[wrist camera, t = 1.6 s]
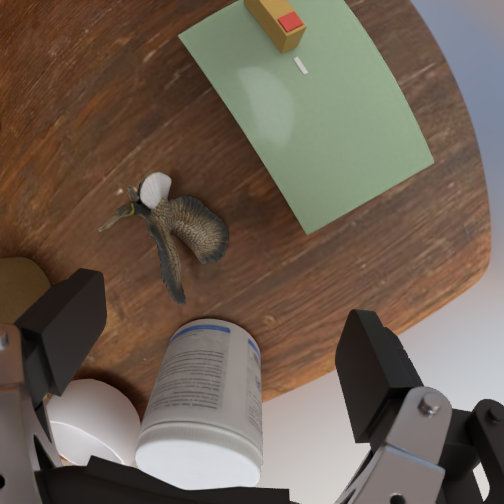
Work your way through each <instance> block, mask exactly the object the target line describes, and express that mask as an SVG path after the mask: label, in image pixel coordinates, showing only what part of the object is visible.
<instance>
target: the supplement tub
mask: <svg viewBox="0 0 504 504" xmlns="http://www.w3.org/2000/svg"><path fill="white" fill-rule="evenodd" d="M262 442H263V440H262V395H261V355H260V350H259V348H258V345H257V343H256V342H255V340H254V339H253V338H252V336H251V335H250V334H249V333H248V332H246V331H245V330H244V329H242V328H241V327H239V326H237V325H235V324H233V323H230V322H227V321H223V320H217V319H200V320H196V321H192V322H190V323H187V324H185V325H184V326H182V327H181V328H179V329H178V330H177V331H176V332H175V333H174V335H173V336H172V338H171V339H170V342H169V344H168V347H167V350H166V352H165V355H164V358H163V361H162V364H161V367H160V370H159V373H158V375H157V378H156V381H155V384H154V387H153V390H152V393H151V396H150V399H149V402H148V405H147V408H146V411H145V414H144V417H143V420H142V424H141V427H140V430H139V434H138V439H137V447H136V451H135V462H136V464H137V466H138V468H139V469H140V470H141V471H143V472H145V473H147V474H149V475H151V476H153V477H155V478H158V479H160V480H162V481H164V482H167V483H169V484H171V485H173V486H176V487H178V488H181V489H185V490H201V489H215V488H227V487H236V486H243V487H254V486H255V485H256V484H257V483H258V482H259V480H260V477H261V466H262V462H263V460H262V456H263V451H262V446H263V443H262Z"/></svg>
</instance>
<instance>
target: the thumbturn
mask: <svg viewBox="0 0 504 504" xmlns="http://www.w3.org/2000/svg"><path fill="white" fill-rule="evenodd" d="M244 4H245V6H246V7H247V8H248V9H249V11H250V12H251V13H252V15H253V16H254V17H255V18H256V20H257V21H258V22H259V24H260V25H261V26H262V28H263V29H264V30H265V32H266V33H267V34H268V36H269V37H270V39H271V40H272V41H273V43H274V44H275V46H276V47H277V48H278V50H279V51H280V53H281V54H283V53H285V52H287V51H289V50H291V49H293V48H295V47H297V46H298V45H299V43H300V40H301V38H302V36H303V34H304V32H305V30H306V27H307V26H306V25H305V24H304V22H303V21H302V19H301V18H300V17H299V15H298V14H297V13H296V12H295V10H294V9H293V8H292V6H291V5H290V4H289V3H288V1H287V0H244Z"/></svg>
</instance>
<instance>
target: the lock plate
mask: <svg viewBox="0 0 504 504" xmlns="http://www.w3.org/2000/svg"><path fill="white" fill-rule="evenodd" d="M287 1H288V3H289V4H290V5H291V6H292V8H293V9H294V10H295V12H296V13H297V14H298V15H299V17H300V18H301V19H302V21H303V22H304V24H305V25H306V26H307V27H306V30H305V32H304V34H303V36H302V38H301V40H300V43H299V45H298V46H297V47H295V48H293V49H291V50H289V51H287V52H285V53H283V54H281V53H280V51H279V50H278V48H277V47H276V46H275V44H274V43H273V41H272V40H271V39H270V37H269V36H268V34H267V33H266V32H265V30H264V29H263V28H262V26H261V25H260V24H259V22H258V21H257V20H256V18H255V17H254V16H253V15H252V13H251V12H250V11H249V9H248V8H247V7H246V6H245V4H244V0H238V1H236V2H235V3H233V4H231V5H229V6H227V7H225V8H223V9H221V10H220V11H218V12H216V13H214V14H212V15H211V16H209V17H207V18H206V19H204V20H202V21H200V22H199V23H197V24H195V25H194V26H192V27H191V28H189V29H187V30H186V31H184V32H183V33H181V34H180V35H178V37H179V38H180V40H181V41H182V43H183V44H184V45H185V47H186V48H187V49H188V51H189V52H190V54H191V55H192V57H193V58H194V59H195V61H196V62H197V64H198V65H199V66H200V68H201V69H202V71H203V72H204V74H205V75H206V77H207V78H208V79H209V81H210V82H211V84H212V85H213V87H214V88H215V90H216V91H217V93H218V94H219V96H220V97H221V99H222V100H223V102H224V103H225V105H226V106H227V108H228V109H229V111H230V112H231V114H232V115H233V117H234V118H235V120H236V121H237V123H238V124H239V126H240V127H241V129H242V130H243V132H244V134H245V135H246V137H247V138H248V140H249V141H250V143H251V144H252V146H253V148H254V149H255V151H256V152H257V154H258V155H259V157H260V159H261V160H262V162H263V163H264V165H265V167H266V168H267V170H268V171H269V173H270V175H271V176H272V178H273V180H274V181H275V183H276V184H277V186H278V188H279V189H280V191H281V193H282V194H283V196H284V198H285V199H286V201H287V203H288V204H289V206H290V208H291V209H292V211H293V213H294V214H295V216H296V218H297V220H298V221H299V223H300V225H301V226H302V228H303V230H304V231H305V233H306V235H309V234H311V233H312V232H314V231H316V230H318V229H319V228H321V227H323V226H325V225H326V224H328V223H330V222H332V221H334V220H335V219H337V218H339V217H341V216H342V215H344V214H346V213H348V212H349V211H351V210H353V209H355V208H356V207H358V206H360V205H362V204H363V203H365V202H367V201H369V200H370V199H372V198H374V197H376V196H377V195H379V194H381V193H383V192H384V191H386V190H388V189H390V188H391V187H393V186H395V185H397V184H398V183H400V182H402V181H404V180H405V179H407V178H409V177H410V176H412V175H414V174H416V173H417V172H419V171H421V170H423V169H424V168H426V167H428V166H429V165H431V164H433V163H434V160H433V158H432V155H431V153H430V151H429V148H428V146H427V143H426V141H425V139H424V137H423V134H422V132H421V130H420V128H419V126H418V123H417V121H416V119H415V117H414V115H413V113H412V111H411V109H410V107H409V105H408V103H407V101H406V99H405V97H404V95H403V93H402V91H401V90H400V88H399V86H398V84H397V82H396V80H395V79H394V77H393V75H392V73H391V71H390V70H389V68H388V66H387V65H386V63H385V61H384V59H383V58H382V56H381V55H380V53H379V51H378V50H377V48H376V46H375V45H374V43H373V42H372V40H371V39H370V37H369V36H368V34H367V33H366V31H365V30H364V28H363V27H362V25H361V24H360V22H359V21H358V19H357V18H356V17H355V15H354V14H353V12H352V11H351V10H350V8H349V7H348V5H347V4H346V3H345V1H344V0H287Z"/></svg>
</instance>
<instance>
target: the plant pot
mask: <svg viewBox="0 0 504 504" xmlns="http://www.w3.org/2000/svg"><path fill="white" fill-rule="evenodd" d="M50 287H51V285H50V282H49V280H48V278H47V276H46V275H45V273H44V272H43V270H42V269H41V268H40V267H39V266H38V265H37V264H36V263H35V262H33V261H32V260H30V259H28V258H25V257H10V258H1V259H0V323H10V324H13V323H14V322H15V321H16V320H17V319H18V318H19V317H20V316H21V315H22V314H23V313H24V312H25V311H26V310H27V309H28V308H29V307H30V306H31V305H32V304H33V303H34V302H37V300H38V299H39V298H40V297H41V296H43V295H44V293H45V292H46V291H47V290H48V289H49V288H50Z"/></svg>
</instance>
